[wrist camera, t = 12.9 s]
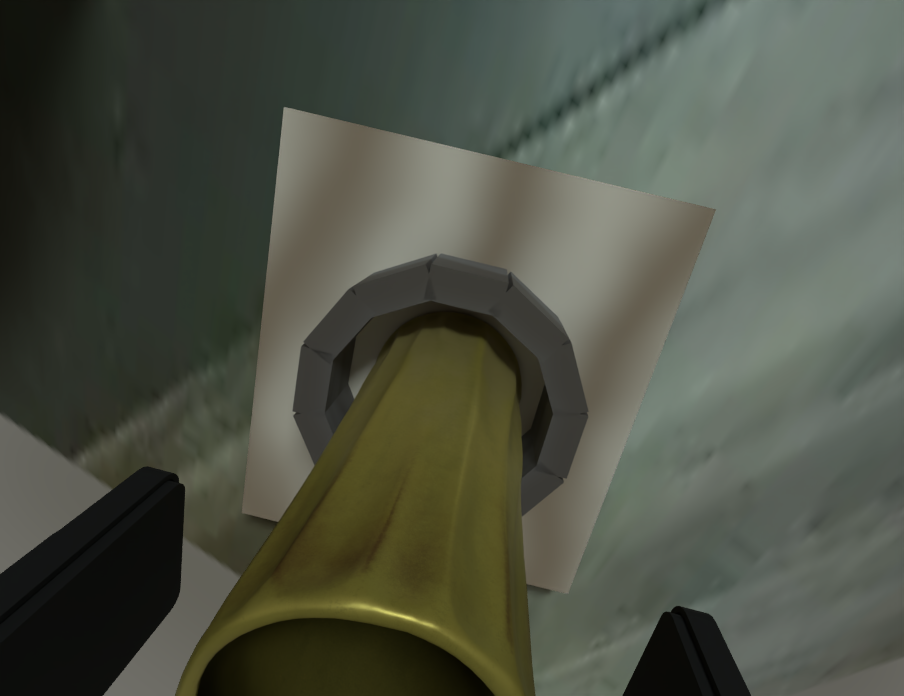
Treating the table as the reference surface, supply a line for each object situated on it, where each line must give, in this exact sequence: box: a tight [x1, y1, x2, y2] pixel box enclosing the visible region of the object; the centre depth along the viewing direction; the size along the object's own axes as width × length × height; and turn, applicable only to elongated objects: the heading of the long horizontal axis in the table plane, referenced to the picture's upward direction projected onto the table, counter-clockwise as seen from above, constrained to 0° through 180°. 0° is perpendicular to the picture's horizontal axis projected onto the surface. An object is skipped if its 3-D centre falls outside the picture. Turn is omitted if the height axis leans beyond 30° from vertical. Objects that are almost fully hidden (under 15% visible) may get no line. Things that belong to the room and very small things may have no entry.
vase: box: [175, 312, 535, 696], centre depth 13 cm, size 6×6×14 cm
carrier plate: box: [242, 107, 716, 594], centre depth 20 cm, size 16×18×4 cm
